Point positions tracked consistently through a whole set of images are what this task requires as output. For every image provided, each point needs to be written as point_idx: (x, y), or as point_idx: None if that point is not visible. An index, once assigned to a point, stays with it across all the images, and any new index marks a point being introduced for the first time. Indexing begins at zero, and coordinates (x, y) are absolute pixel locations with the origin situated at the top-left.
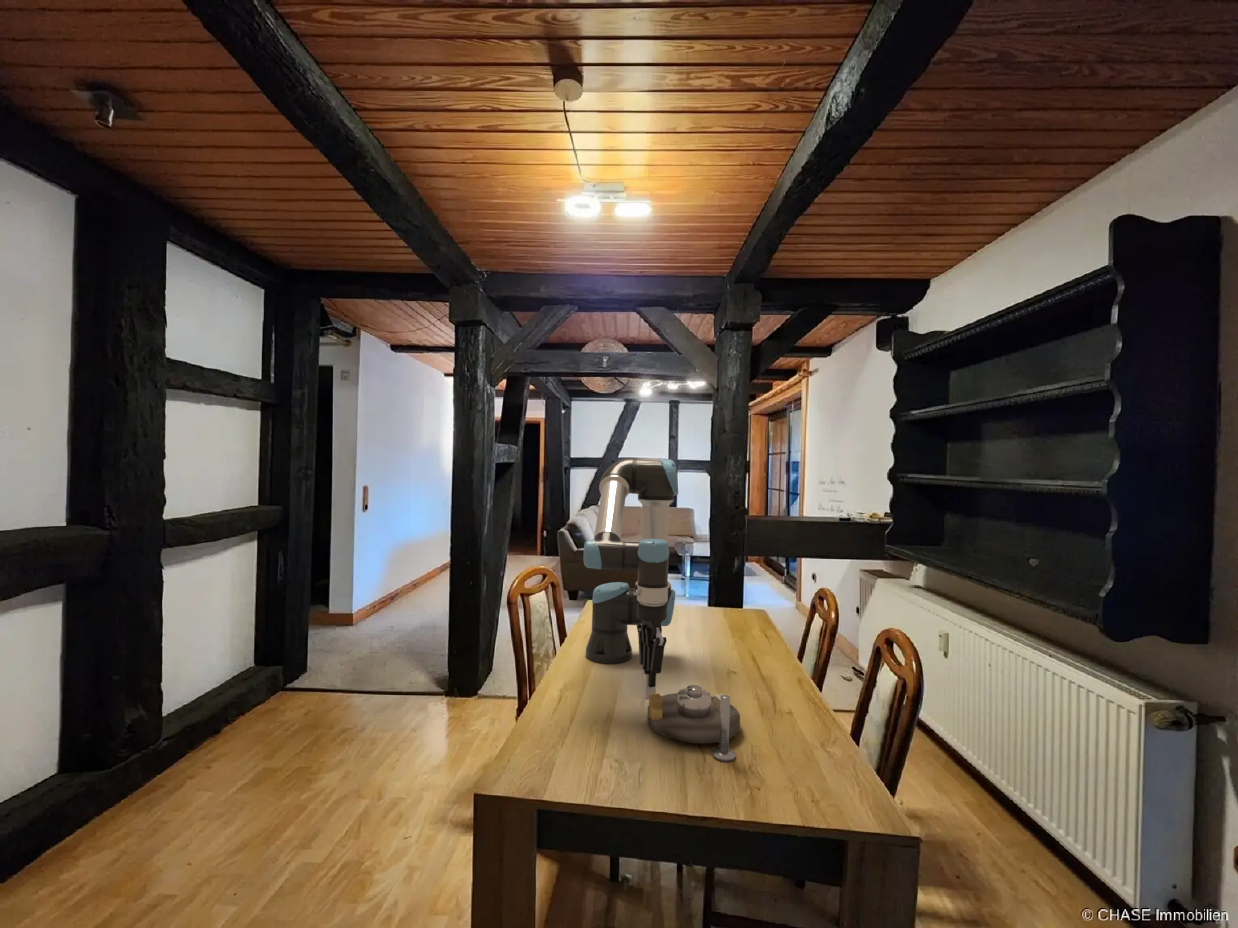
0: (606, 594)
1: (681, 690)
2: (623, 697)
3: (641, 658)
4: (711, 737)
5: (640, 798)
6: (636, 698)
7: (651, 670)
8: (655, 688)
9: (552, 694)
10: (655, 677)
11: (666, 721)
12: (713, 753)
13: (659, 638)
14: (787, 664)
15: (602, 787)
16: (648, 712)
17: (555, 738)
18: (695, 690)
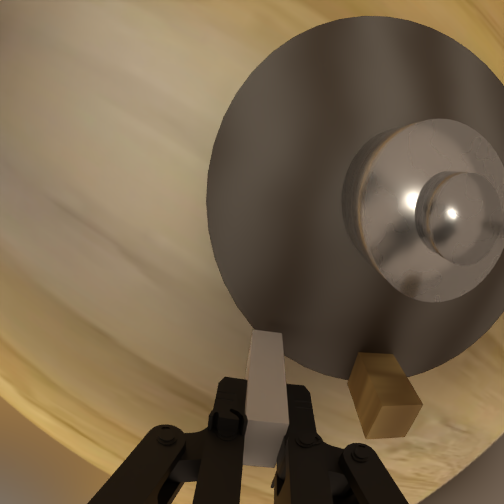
0: None
1: (379, 246)
2: (80, 295)
3: (171, 501)
4: None
5: (485, 437)
6: (97, 259)
7: (347, 497)
8: (283, 361)
9: (48, 424)
10: (314, 423)
11: (414, 349)
12: None
13: None
14: None
15: (431, 474)
16: (325, 372)
17: (250, 499)
18: (491, 239)
